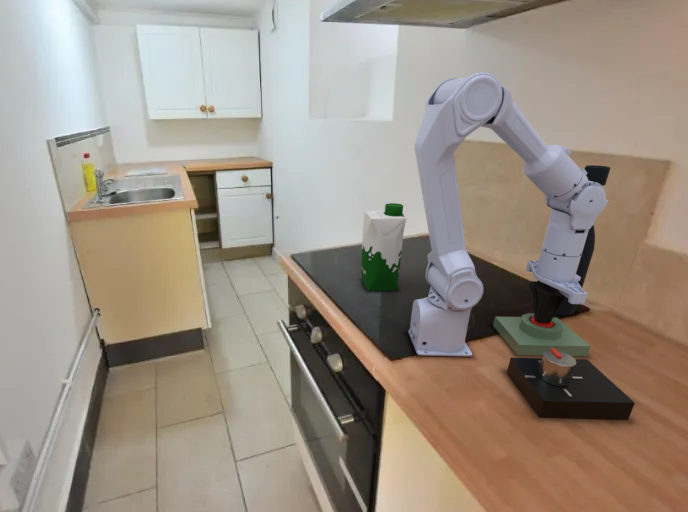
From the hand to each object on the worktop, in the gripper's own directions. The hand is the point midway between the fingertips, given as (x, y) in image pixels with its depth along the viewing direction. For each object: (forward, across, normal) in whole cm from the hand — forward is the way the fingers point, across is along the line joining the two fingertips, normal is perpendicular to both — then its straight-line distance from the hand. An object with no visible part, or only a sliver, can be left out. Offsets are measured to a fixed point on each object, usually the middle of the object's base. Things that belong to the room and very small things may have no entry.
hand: (542, 321), depth 69 cm
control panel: (+4, -15, +4) cm, 16 cm away
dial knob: (+1, -15, +6) cm, 16 cm away
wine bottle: (+4, +13, -11) cm, 18 cm away
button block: (+4, 0, 0) cm, 4 cm away
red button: (+2, 0, 0) cm, 2 cm away
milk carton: (+4, +24, +26) cm, 36 cm away
